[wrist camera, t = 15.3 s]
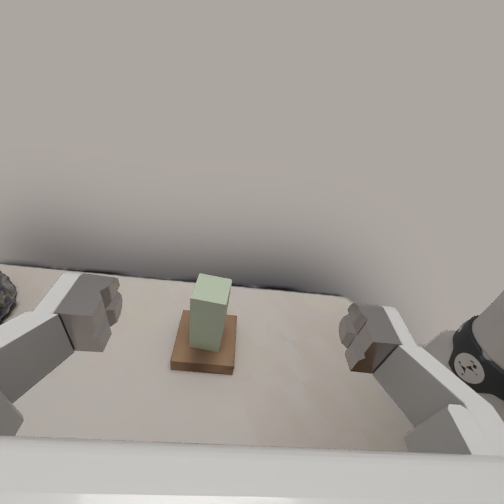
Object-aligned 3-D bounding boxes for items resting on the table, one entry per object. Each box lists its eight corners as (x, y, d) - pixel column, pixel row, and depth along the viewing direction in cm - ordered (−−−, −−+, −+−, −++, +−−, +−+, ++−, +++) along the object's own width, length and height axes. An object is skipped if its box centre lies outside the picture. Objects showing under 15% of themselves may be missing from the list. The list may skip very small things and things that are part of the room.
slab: (234, 326, 47) (236, 315, 46) (231, 376, 40) (234, 366, 38) (183, 321, 46) (183, 310, 45) (170, 371, 39) (170, 360, 38)
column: (224, 327, 43) (232, 279, 36) (218, 352, 40) (226, 304, 33) (196, 322, 43) (199, 273, 36) (188, 346, 40) (190, 298, 33)
